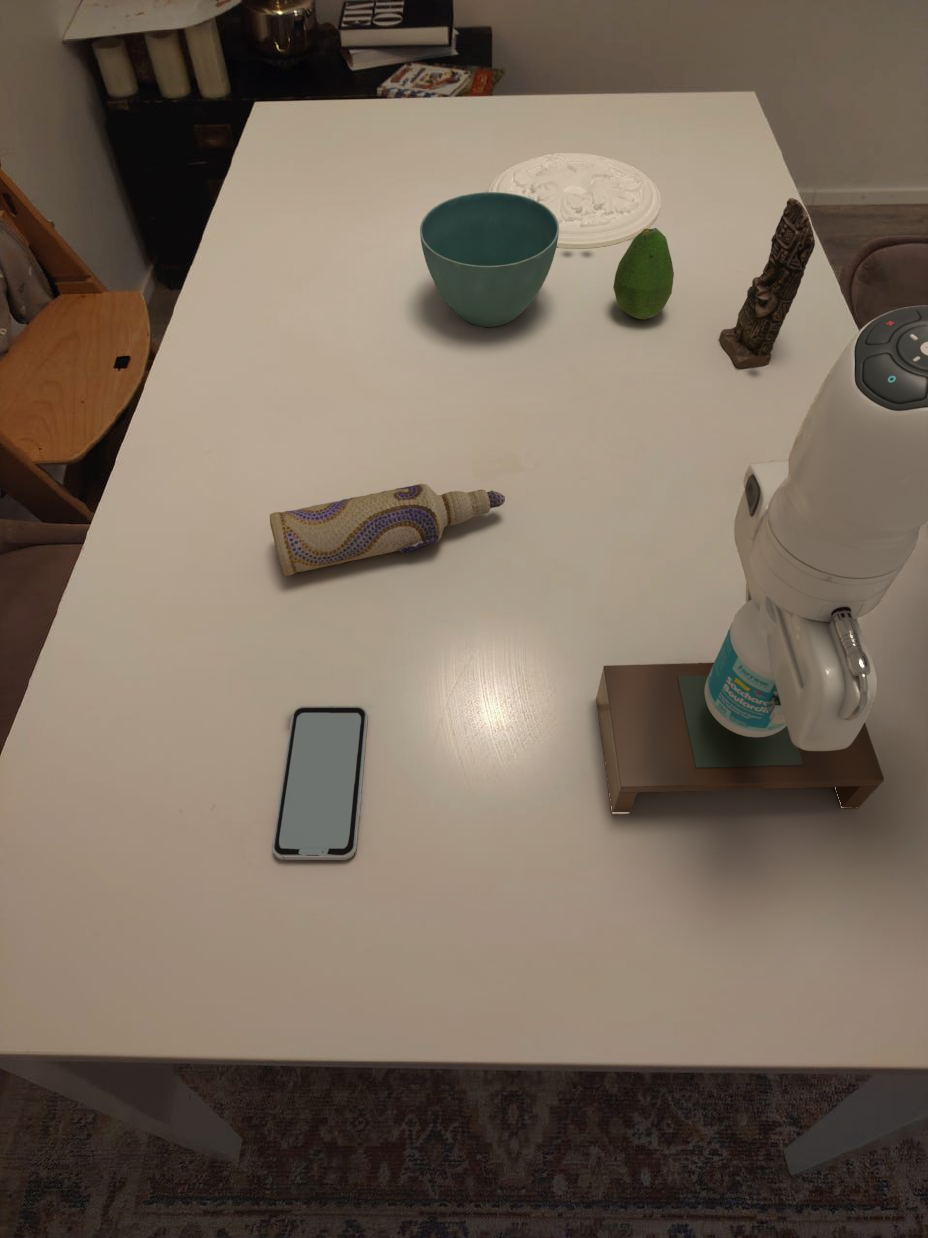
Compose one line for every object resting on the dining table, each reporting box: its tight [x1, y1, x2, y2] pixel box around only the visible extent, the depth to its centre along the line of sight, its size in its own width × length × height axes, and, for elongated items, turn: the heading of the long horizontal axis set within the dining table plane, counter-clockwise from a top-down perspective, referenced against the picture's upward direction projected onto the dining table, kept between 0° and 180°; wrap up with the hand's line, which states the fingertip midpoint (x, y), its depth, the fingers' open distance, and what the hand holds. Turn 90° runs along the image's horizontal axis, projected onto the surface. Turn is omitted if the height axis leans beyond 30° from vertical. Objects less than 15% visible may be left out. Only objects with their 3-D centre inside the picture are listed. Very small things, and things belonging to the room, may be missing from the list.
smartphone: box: [271, 705, 369, 861], centre depth 75 cm, size 7×1×15 cm
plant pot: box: [419, 191, 559, 328], centre depth 113 cm, size 18×18×12 cm
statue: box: [718, 197, 816, 369], centre depth 103 cm, size 7×7×20 cm
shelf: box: [595, 662, 885, 813], centre depth 74 cm, size 22×12×6 cm, turn 91°
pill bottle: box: [705, 596, 787, 737], centre depth 64 cm, size 8×7×14 cm
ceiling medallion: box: [487, 152, 662, 250], centre depth 133 cm, size 28×28×3 cm
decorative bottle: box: [269, 483, 506, 576], centre depth 90 cm, size 26×8×7 cm, turn 105°
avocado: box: [612, 227, 675, 320], centre depth 112 cm, size 8×8×12 cm
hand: (765, 666), depth 65 cm, fingers closed on pill bottle, 7 cm apart
